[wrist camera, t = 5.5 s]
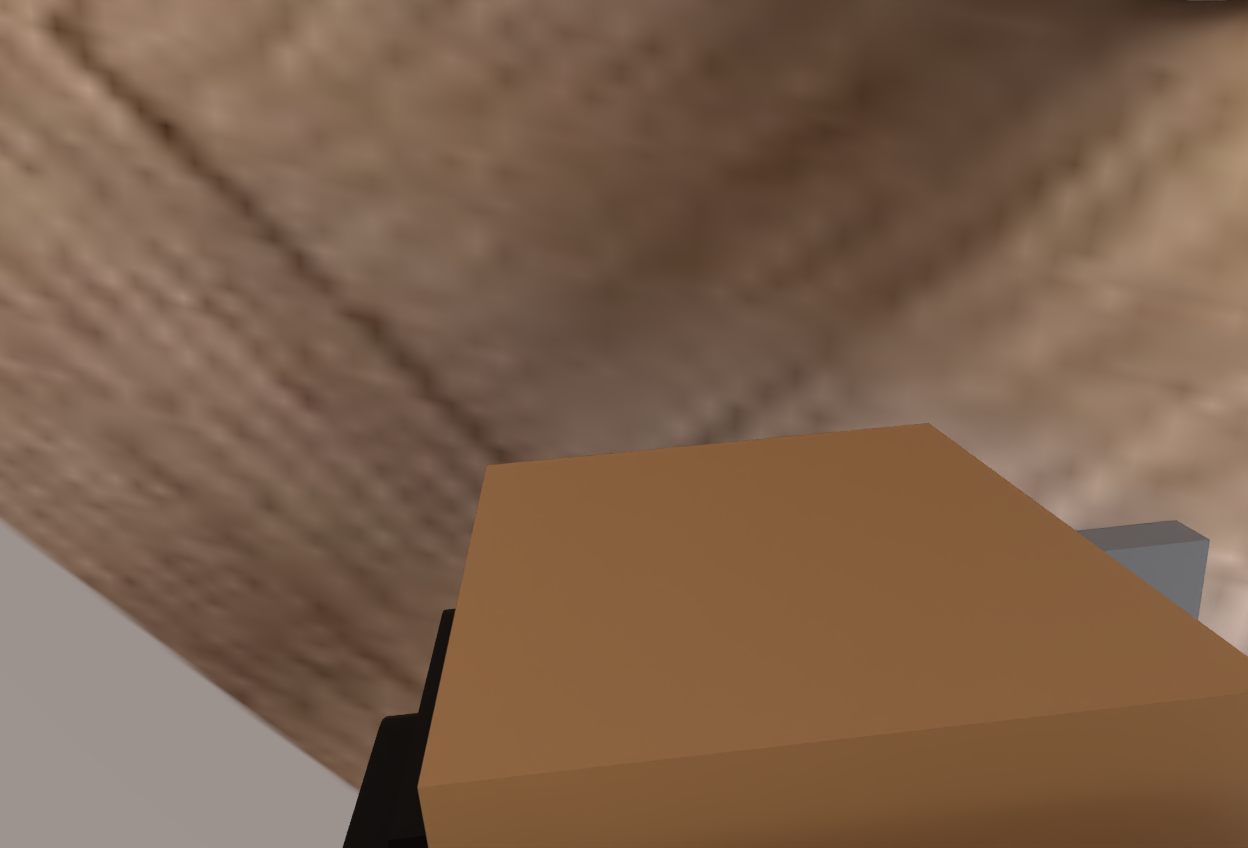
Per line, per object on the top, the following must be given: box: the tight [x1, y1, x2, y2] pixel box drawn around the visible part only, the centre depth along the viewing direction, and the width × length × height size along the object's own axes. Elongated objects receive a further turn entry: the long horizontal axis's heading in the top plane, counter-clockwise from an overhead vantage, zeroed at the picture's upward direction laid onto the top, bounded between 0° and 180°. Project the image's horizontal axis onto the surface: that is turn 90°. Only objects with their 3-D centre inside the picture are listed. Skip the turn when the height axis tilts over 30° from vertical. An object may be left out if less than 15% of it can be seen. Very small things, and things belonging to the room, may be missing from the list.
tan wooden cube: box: [417, 423, 1248, 848], centre depth 10 cm, size 6×6×6 cm
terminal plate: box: [1077, 520, 1210, 620], centre depth 28 cm, size 16×12×6 cm
